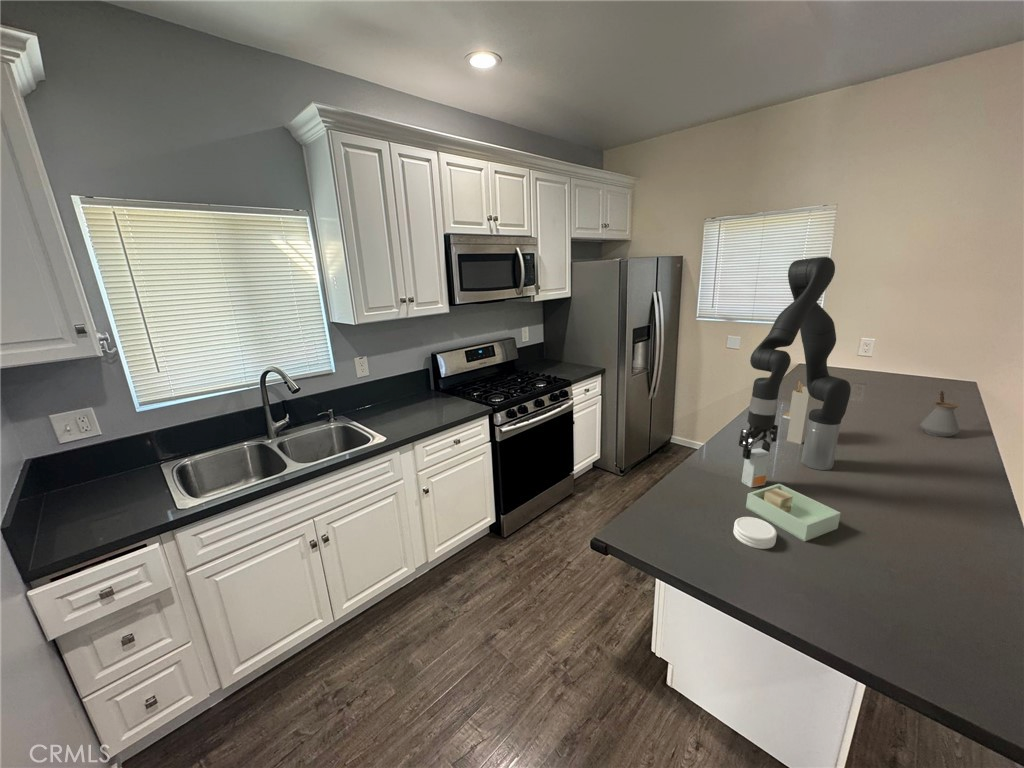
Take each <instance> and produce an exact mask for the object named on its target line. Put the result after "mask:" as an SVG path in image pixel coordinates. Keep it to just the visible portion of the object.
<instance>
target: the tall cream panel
mask: <svg viewBox="0 0 1024 768" xmlns="http://www.w3.org/2000/svg"><path fill="white" fill-rule="evenodd" d="M803 385H804V384H803V383H801V381H800V380H799V381H798V385H797V389H796V390H795V389H793V390H792V392H791V401H790V407H789V411H787V412H786V413H784V414H783V415H782V418H785V419H788V420H789V421H788V422H789V423H788V430H787V437H786V441H787V442H791V443H795V444H799V445H802V444H804V441H805V435H806V429H807V423H808V417H809V412H810V411H811V410H814V409H816V401H817V399H814V398H813V397H811V396H810V395H809V393H808V390H807V386H803Z"/></svg>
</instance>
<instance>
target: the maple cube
mask: <svg viewBox="0 0 1024 768" xmlns="http://www.w3.org/2000/svg"><path fill="white" fill-rule="evenodd" d="M792 499H793V496H791V495H789V494H787V493H785V492H783V491H781V490H779V489H777V488H776V489H773V490H770V491H766V492H765V495H764V501H766V502H768V503H770V504H772V505H774V506H775V507H777V508H779V509H781V510H783V511H785V512H790V511H791V505H792Z"/></svg>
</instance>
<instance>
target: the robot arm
mask: <svg viewBox="0 0 1024 768" xmlns="http://www.w3.org/2000/svg"><path fill="white" fill-rule="evenodd" d="M835 273H836V264H835V262H834V260H833V259H832V258H831V257H829V256H818V257H812V258H811V257H810V258H805V259H802V258H801V259H798V260H794V261H793V262H791V264H790V265H789V268H788V271H787V280H788V284H789V288H790V291H791V295H792V298H793V302H791V304H789V305H788V306H787V307H786V308H784V309H783V310H782V311H781V312H780V314H778V316H777V317H776V319H775V321H773V322H774V323H773V325H772V327H771V329H770V331H769V332H768V335H766V336H765V337H764V339H763V340H762V341H761V342H760V343H759V344H758V346H757V347H756V348H755V349H754V350H753V351H752V353H751V355H750V360H749V361H750V366H751V367H752V368H753V369H754V370H758V371H764V372H769V373H771V374H770V376H769V377H758V378H755V379H754V382H753V386H752V394H751V398H750V402H749V406H748V407H749V409H748V416H747V421H746V422H747V423H748V424H749V427H748V429H744V428H741V430H740V434H739V441H738V446H739V447H741V448H743V449H742V458H743V459H744V460H745V459H747V460H749V459H750V456H751V450H752V449H753V447H754V445H756V444H757V443H758V442H760V441H762V445H761V449H763V450H765V451H767V452H769V453H770V449H771V445H772V444H773V443H776V442H777V439H778V438H777V437H778V431H779V425H776V424H775V423H776V419H777V418H776V416H777V410H778V398H779V391H780V387H781V384H782V381H783V379H784V377H785V375H786V373H787V371H788V369H789V367H790V365H791V362H792V359H791V356H790V353H789V352H788V351H785V350H783V349H782V350H781V349H779V348H786V347H787V348H788V347H790V346H792V344H793V343H794V341H795V339H796V337H797V336H798V333H800V339H801V344H802V348H803V354H804V358H805V359H804V362H805V369H806V371H805V372H806V374H805V375H806V387H807V390H808V393H809V395H810V396H811V397H813V398H814V399H816V401H817V400H818V401H820V402H823V404H822V407H821V408H815V409H814V410H811V411H810V412H809V417H808V423H807V429H806V435H805V441H804V442H803V448H802V454H801V460H800V461H801V464H803V466H805V467H808V468H811V469H814V470H819V471H829V470H832V468H833V467H834V464H835V458H836V453H837V449H838V443H839V442H838V440H839V434H840V429H841V423H842V419H843V418H844V416H845V414H846V412H847V408H848V405H849V400H850V397H851V391H852V388H851V384H850V382H849V381H848V380H847V379H843V378H841V377H838V376H837V377H836V376H833V375H830V374H829V370H828V363H827V362H828V358H829V356H830V355H831V353H832V352H833V350H834V348H835V346H836V343H837V332H836V326H835V322H834V320H833V318H832V317H831V316H830V315H829V313H828V312H827V311H826V310H825V309H824V308H823V307H822V306H821V305H820V304H819V303H818V301H819V300H820V298H821V297H822V295H823V294H824V292H825V291H826V290H827V288H828V287H829V285H830V283H831V282H832V280H833V279H834V276H835ZM799 331H800V332H799Z"/></svg>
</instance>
